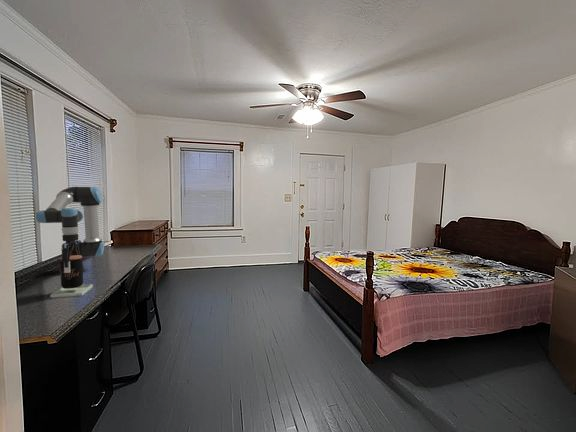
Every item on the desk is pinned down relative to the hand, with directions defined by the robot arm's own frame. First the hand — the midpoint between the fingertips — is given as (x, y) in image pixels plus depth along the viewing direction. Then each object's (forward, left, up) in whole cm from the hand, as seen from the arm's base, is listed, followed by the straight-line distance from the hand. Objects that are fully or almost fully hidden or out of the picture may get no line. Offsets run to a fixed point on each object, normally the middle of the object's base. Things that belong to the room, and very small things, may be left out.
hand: (71, 270), depth 169 cm
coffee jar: (0, 0, -10) cm, 10 cm away
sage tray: (0, 0, -14) cm, 14 cm away
